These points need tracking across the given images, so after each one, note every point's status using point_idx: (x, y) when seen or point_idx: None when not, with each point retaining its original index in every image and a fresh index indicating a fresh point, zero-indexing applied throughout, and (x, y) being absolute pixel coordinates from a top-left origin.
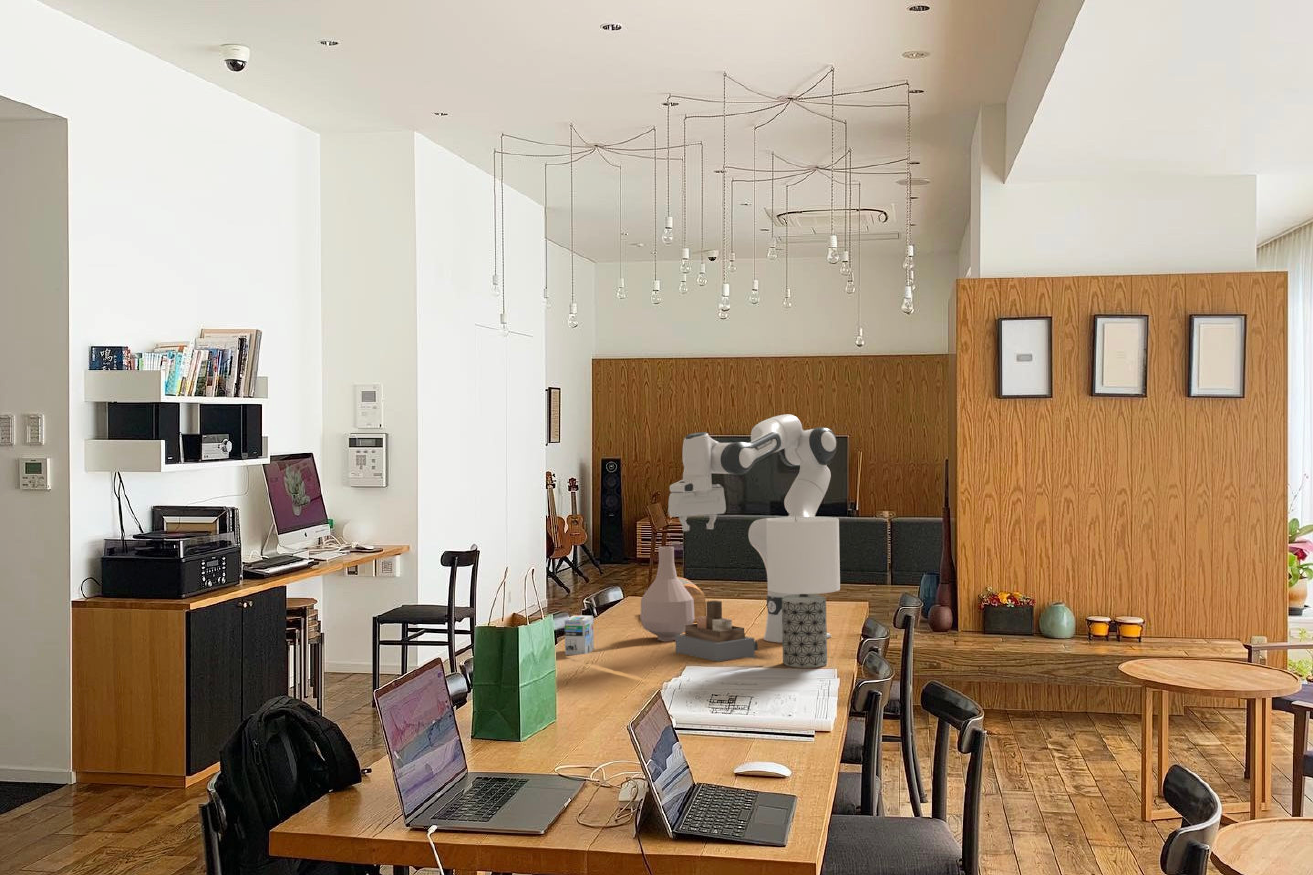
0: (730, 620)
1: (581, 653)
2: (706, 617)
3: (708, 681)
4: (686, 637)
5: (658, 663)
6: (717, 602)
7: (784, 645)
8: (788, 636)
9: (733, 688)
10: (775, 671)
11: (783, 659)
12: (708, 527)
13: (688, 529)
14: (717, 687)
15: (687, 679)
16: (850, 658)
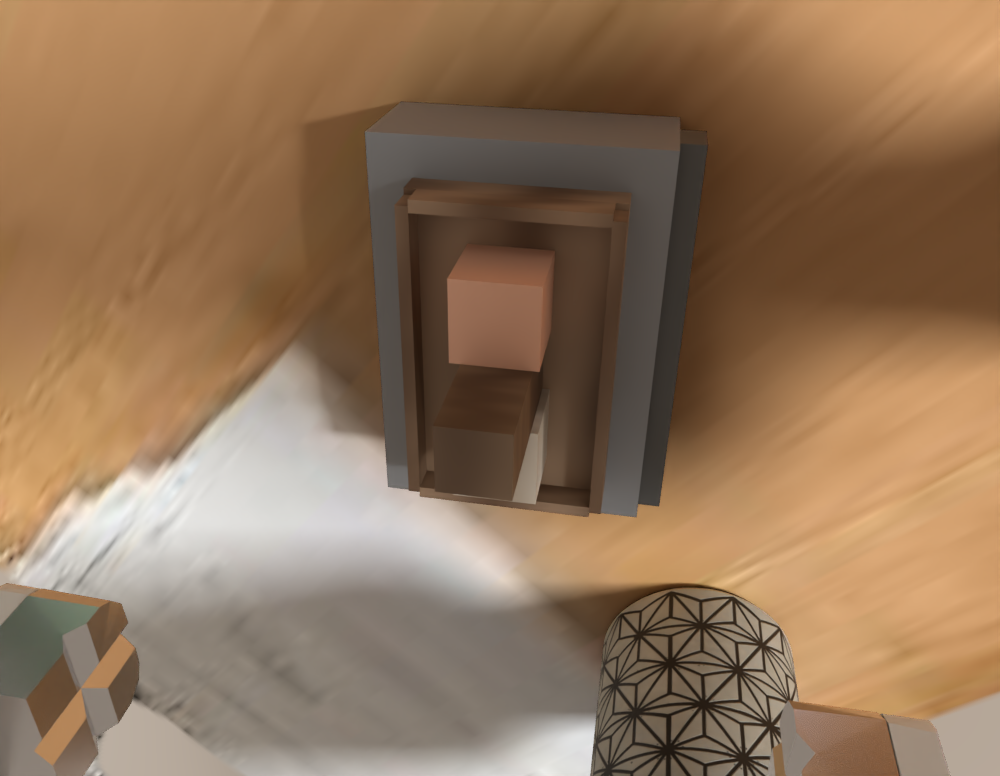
0: (527, 500)
1: None
2: (480, 340)
3: (209, 585)
4: (374, 242)
5: (209, 214)
6: (473, 494)
7: (605, 684)
8: (593, 744)
9: (223, 686)
10: (503, 646)
11: (618, 625)
12: (792, 773)
13: (93, 703)
14: (188, 650)
15: (162, 521)
16: (929, 711)
